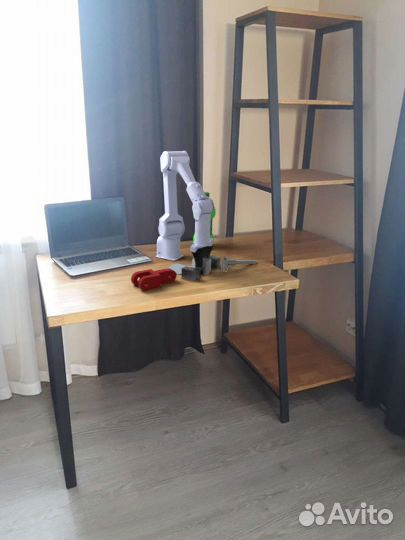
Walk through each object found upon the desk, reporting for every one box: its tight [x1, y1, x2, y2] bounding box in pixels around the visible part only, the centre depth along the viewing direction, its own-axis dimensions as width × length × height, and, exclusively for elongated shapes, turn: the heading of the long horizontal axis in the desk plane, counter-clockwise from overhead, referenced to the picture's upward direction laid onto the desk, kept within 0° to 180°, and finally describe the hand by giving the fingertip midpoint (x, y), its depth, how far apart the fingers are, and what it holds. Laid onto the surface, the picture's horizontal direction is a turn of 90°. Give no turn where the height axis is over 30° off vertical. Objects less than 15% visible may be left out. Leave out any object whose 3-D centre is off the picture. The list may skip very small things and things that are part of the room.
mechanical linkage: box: [130, 267, 177, 292], centre depth 161 cm, size 16×7×5 cm, turn 125°
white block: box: [191, 257, 212, 276], centre depth 174 cm, size 6×4×6 cm, turn 61°
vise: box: [180, 255, 221, 282], centre depth 174 cm, size 6×20×4 cm, turn 151°
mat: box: [165, 263, 192, 276], centre depth 177 cm, size 8×10×1 cm
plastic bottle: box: [192, 191, 217, 243], centre depth 203 cm, size 10×10×25 cm
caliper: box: [220, 256, 258, 273], centre depth 181 cm, size 20×1×6 cm, turn 132°
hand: (201, 265), depth 174 cm, fingers closed on white block, 4 cm apart
